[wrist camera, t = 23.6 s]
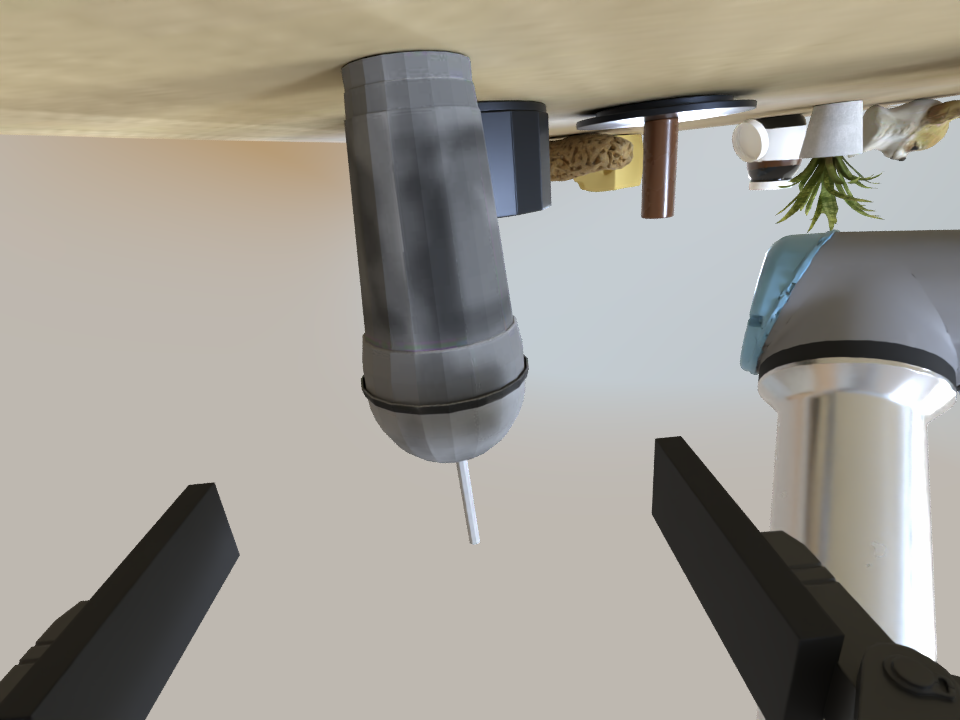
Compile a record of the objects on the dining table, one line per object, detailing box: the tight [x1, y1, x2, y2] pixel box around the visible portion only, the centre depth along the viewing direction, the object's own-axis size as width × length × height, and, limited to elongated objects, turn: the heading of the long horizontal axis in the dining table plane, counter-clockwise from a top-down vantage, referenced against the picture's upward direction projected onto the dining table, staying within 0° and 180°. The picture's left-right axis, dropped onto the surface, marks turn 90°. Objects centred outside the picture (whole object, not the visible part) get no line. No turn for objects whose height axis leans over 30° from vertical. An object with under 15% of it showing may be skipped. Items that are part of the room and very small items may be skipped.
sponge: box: [549, 133, 634, 181], centre depth 79 cm, size 13×8×20 cm
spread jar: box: [732, 114, 806, 190], centre depth 86 cm, size 12×11×12 cm
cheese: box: [573, 134, 643, 192], centre depth 99 cm, size 10×11×10 cm
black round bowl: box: [477, 101, 551, 218], centre depth 35 cm, size 13×13×6 cm
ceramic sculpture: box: [848, 99, 960, 161], centre depth 74 cm, size 11×9×15 cm
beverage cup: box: [342, 51, 529, 544], centre depth 21 cm, size 7×7×20 cm
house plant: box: [776, 101, 881, 231], centre depth 66 cm, size 14×14×16 cm
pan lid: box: [576, 95, 757, 219], centre depth 43 cm, size 14×14×9 cm
